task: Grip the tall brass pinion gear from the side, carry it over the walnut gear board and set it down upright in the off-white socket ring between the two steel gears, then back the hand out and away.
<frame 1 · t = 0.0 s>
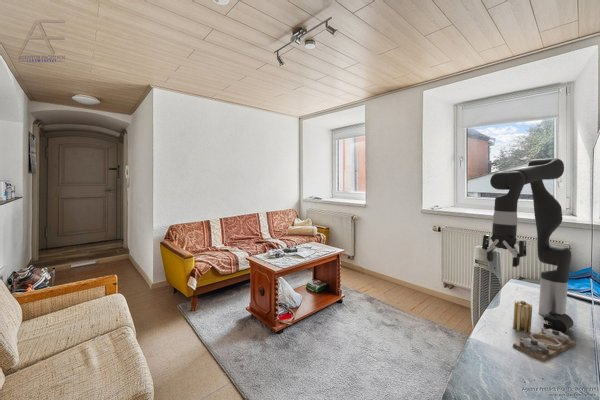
hand: (502, 263, 104), 29 cm above the table, tool pointing down, fingers open, 8 cm apart
pinion: (521, 329, 111), on the table
gear board: (544, 345, 100), on the table
end cap: (557, 331, 111), on the table
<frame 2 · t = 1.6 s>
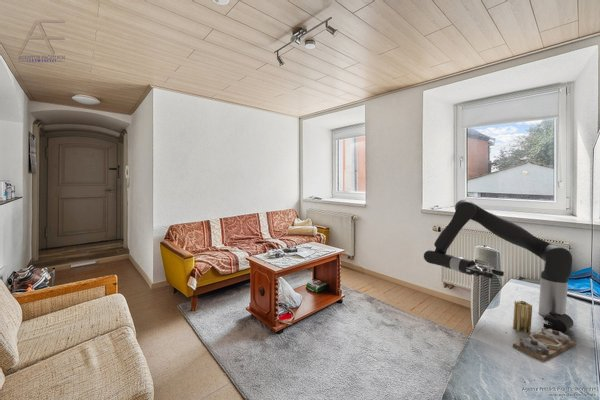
hand: (498, 275, 120), 20 cm above the table, tool horizontal, fingers open, 8 cm apart
nothing on the table moved.
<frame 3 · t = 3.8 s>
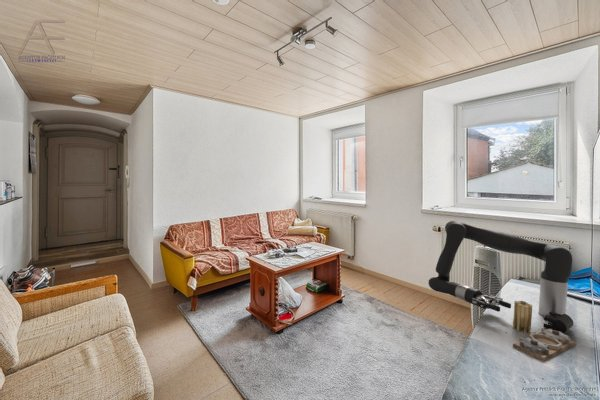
hand: (505, 307, 117), 6 cm above the table, tool horizontal, fingers open, 8 cm apart
nothing on the table moved.
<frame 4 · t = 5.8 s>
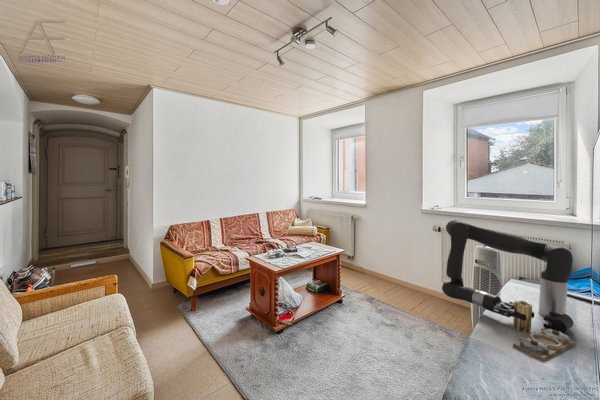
hand: (529, 316, 109), 7 cm above the table, tool horizontal, fingers closed on pinion, 5 cm apart
pinion: (521, 329, 111), on the table, touching gripper
everything else where it was.
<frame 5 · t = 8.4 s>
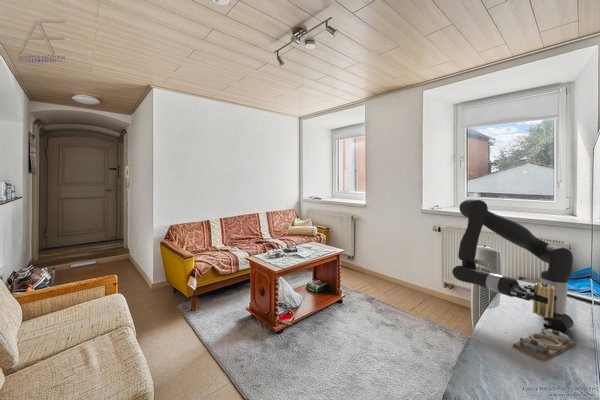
hand: (552, 299, 98), 18 cm above the table, tool horizontal, fingers closed on pinion, 5 cm apart
pinion: (542, 314, 101), point 11 cm above the table, touching gripper
everything else where it was.
when the fingers open (9 cm above the table, at t = 11.1 s): pinion drops 1 cm, resting on gear board.
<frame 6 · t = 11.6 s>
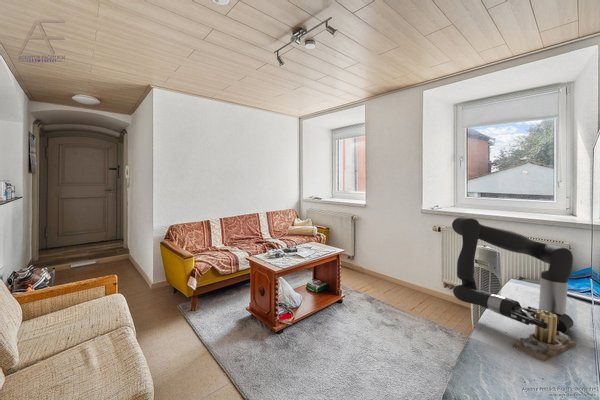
hand: (553, 324, 98), 9 cm above the table, tool horizontal, fingers open, 8 cm apart
pinion: (544, 342, 100), point 1 cm above the table, touching gear board
everything else where it was.
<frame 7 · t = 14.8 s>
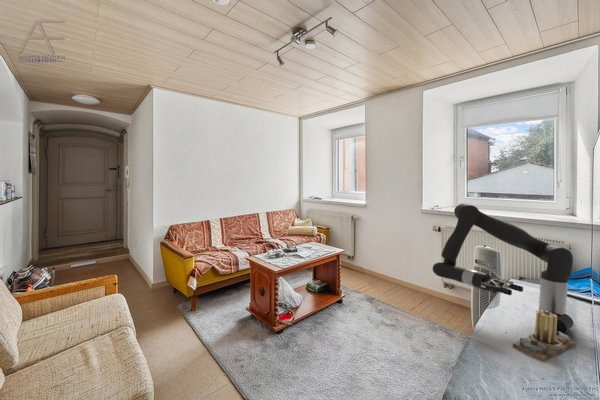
hand: (517, 291, 108), 17 cm above the table, tool horizontal, fingers open, 8 cm apart
nothing on the table moved.
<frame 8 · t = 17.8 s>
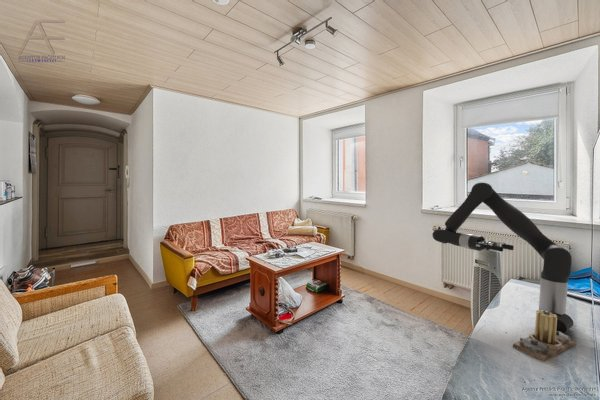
hand: (508, 248, 121), 32 cm above the table, tool horizontal, fingers open, 8 cm apart
nothing on the table moved.
at the end: pinion 0.1 cm off-centre on the gear board, point 1.2 cm above the gear board's base; pinion tilted 0°; the gripper is holding nothing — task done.
